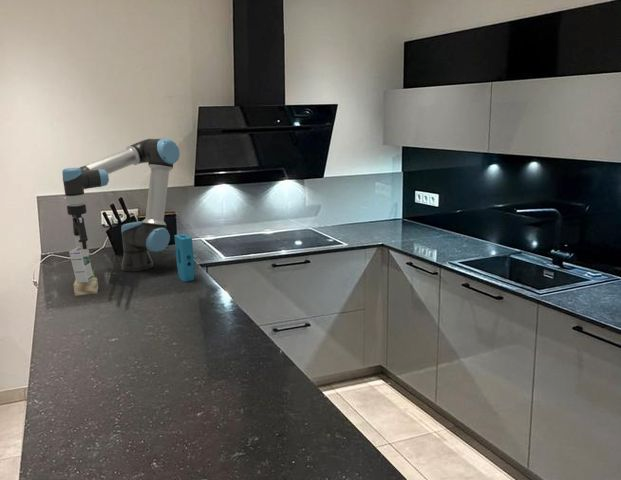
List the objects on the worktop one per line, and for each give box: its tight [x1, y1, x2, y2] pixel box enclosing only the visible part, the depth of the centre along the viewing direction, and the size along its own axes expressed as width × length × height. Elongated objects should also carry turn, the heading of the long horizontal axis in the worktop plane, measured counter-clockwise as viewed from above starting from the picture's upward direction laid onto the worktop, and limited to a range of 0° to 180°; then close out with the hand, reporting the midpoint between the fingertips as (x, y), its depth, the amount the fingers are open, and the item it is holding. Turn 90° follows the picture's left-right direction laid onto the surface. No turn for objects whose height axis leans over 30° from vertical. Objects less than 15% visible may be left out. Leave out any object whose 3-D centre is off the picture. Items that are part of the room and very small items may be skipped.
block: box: [174, 233, 195, 283], centre depth 266 cm, size 12×5×20 cm, turn 30°
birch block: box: [73, 276, 99, 297], centre depth 253 cm, size 9×9×5 cm
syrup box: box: [68, 247, 96, 283], centre depth 250 cm, size 6×6×14 cm
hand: (82, 253), depth 250 cm, fingers open, 13 cm apart
